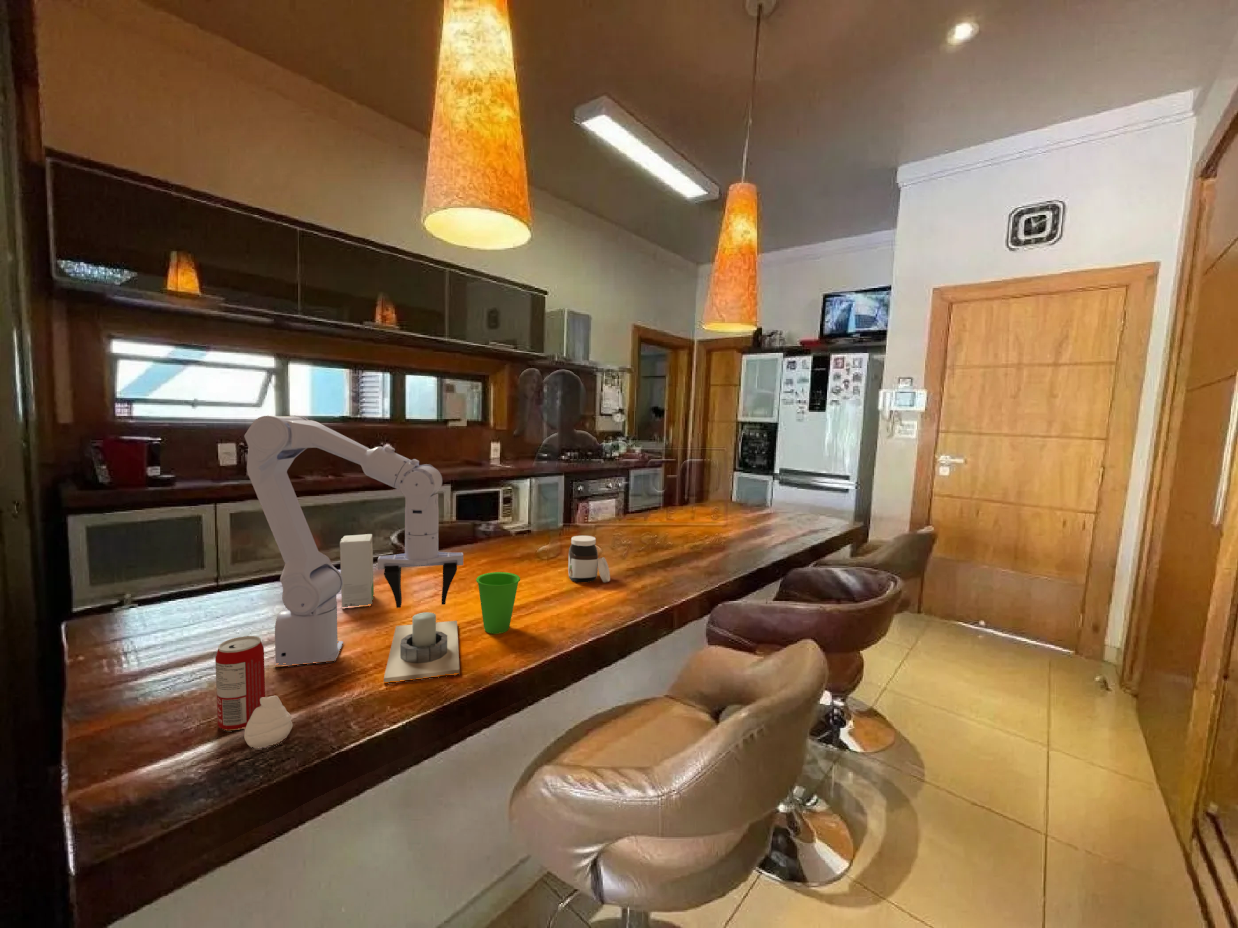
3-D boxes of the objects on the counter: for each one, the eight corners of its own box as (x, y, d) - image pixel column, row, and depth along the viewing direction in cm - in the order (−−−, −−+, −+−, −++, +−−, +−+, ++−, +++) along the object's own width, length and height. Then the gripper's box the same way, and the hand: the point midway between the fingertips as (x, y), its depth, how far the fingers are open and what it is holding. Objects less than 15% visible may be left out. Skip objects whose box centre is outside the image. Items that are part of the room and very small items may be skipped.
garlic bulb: (290, 683, 73) (293, 700, 69) (291, 723, 74) (294, 743, 70) (243, 694, 70) (242, 713, 66) (244, 735, 71) (244, 757, 66)
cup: (474, 639, 103) (476, 586, 102) (474, 621, 112) (476, 572, 111) (519, 636, 105) (521, 584, 104) (516, 619, 114) (518, 571, 113)
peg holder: (383, 684, 85) (383, 663, 85) (396, 630, 106) (396, 614, 106) (459, 674, 89) (459, 655, 89) (456, 625, 110) (457, 609, 109)
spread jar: (565, 574, 148) (566, 534, 147) (603, 572, 151) (604, 533, 150) (574, 587, 137) (575, 545, 136) (614, 585, 140) (616, 543, 139)
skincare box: (371, 607, 118) (371, 541, 117) (339, 610, 116) (338, 542, 114) (374, 595, 126) (373, 532, 124) (343, 597, 123) (343, 534, 122)
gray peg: (411, 659, 92) (411, 621, 91) (413, 649, 96) (413, 613, 95) (434, 657, 93) (434, 620, 92) (436, 647, 97) (436, 611, 96)
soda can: (264, 706, 78) (262, 630, 77) (266, 724, 73) (264, 643, 72) (218, 718, 74) (215, 638, 73) (217, 738, 70) (214, 653, 69)
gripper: (375, 538, 87) (375, 615, 89) (463, 535, 92) (463, 609, 93) (380, 529, 94) (380, 601, 95) (463, 527, 99) (462, 595, 100)
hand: (421, 604), depth 95 cm, fingers open, 7 cm apart
